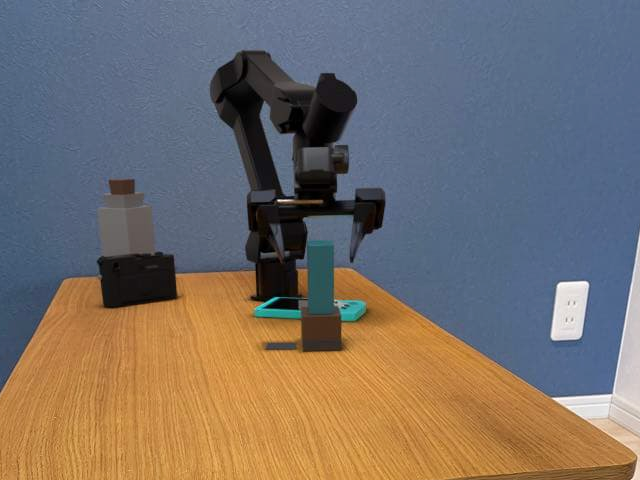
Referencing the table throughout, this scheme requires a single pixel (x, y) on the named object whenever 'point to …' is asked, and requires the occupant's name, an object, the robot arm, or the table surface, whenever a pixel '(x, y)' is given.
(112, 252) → the perfume bottle
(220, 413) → the table surface
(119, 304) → the camera
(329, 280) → the teal post in base
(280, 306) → the handheld game console
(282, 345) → the dark grey flat tile
